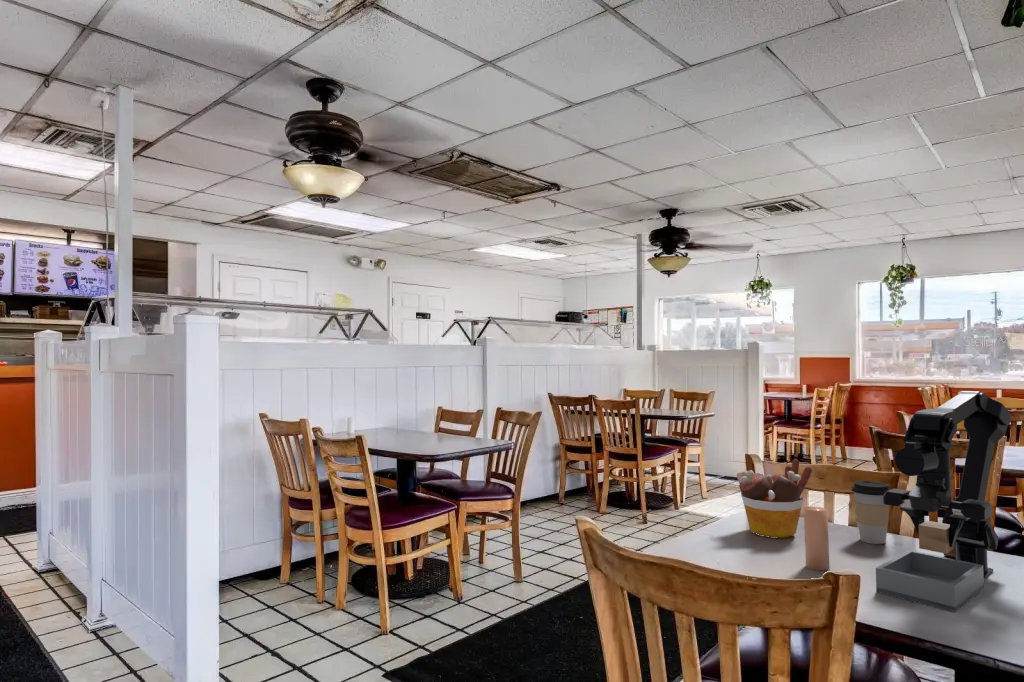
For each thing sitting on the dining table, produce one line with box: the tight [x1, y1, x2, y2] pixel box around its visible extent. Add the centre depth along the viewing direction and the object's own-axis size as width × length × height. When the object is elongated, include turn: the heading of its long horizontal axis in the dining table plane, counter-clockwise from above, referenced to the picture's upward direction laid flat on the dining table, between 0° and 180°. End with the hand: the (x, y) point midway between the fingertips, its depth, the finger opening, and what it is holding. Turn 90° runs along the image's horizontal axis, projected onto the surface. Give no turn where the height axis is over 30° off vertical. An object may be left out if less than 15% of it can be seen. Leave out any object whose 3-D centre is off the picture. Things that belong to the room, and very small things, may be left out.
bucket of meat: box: [736, 458, 813, 539], centre depth 175 cm, size 20×16×20 cm
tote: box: [875, 549, 985, 613], centre depth 132 cm, size 18×14×5 cm
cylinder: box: [803, 506, 831, 572], centre depth 147 cm, size 5×5×14 cm
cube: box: [918, 520, 954, 554], centre depth 135 cm, size 5×5×5 cm
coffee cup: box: [850, 480, 892, 545], centre depth 167 cm, size 9×9×15 cm
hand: (936, 543), depth 135 cm, fingers closed on cube, 5 cm apart
